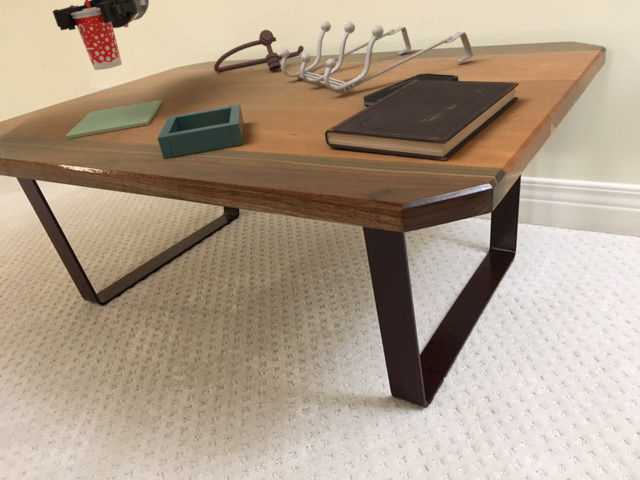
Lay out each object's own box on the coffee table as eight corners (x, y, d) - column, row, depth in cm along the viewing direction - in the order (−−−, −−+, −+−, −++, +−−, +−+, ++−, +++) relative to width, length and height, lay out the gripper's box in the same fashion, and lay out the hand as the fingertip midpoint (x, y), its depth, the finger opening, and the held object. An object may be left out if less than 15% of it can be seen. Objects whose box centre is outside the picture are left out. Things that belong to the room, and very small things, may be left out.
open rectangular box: (163, 158, 74) (157, 137, 72) (173, 135, 83) (168, 116, 82) (243, 144, 74) (238, 123, 73) (244, 123, 84) (239, 104, 82)
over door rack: (281, 82, 106) (272, 30, 101) (407, 51, 115) (403, 2, 111) (329, 100, 88) (321, 38, 84) (473, 62, 97) (472, 4, 93)
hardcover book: (517, 99, 74) (518, 82, 73) (445, 161, 58) (444, 140, 57) (412, 94, 83) (411, 79, 82) (326, 146, 67) (323, 129, 66)
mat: (66, 139, 91) (65, 135, 91) (91, 114, 105) (89, 111, 105) (148, 124, 92) (147, 121, 91) (162, 102, 106) (161, 99, 105)
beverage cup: (90, 67, 94) (60, -22, 87) (126, 60, 95) (99, -28, 88) (88, 73, 88) (56, -21, 82) (126, 65, 90) (97, -28, 83)
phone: (461, 75, 85) (399, 102, 77) (461, 83, 86) (400, 109, 77) (421, 73, 90) (359, 97, 82) (421, 79, 91) (360, 104, 83)
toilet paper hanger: (299, 47, 131) (309, 19, 117) (309, 80, 131) (320, 56, 117) (212, 65, 126) (212, 38, 113) (222, 99, 126) (223, 76, 113)
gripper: (170, 17, 105) (150, 32, 85) (73, 34, 105) (30, 52, 85) (159, -25, 102) (136, -21, 81) (59, -8, 101) (10, 0, 81)
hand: (82, 16), depth 83 cm, fingers closed on beverage cup, 6 cm apart
